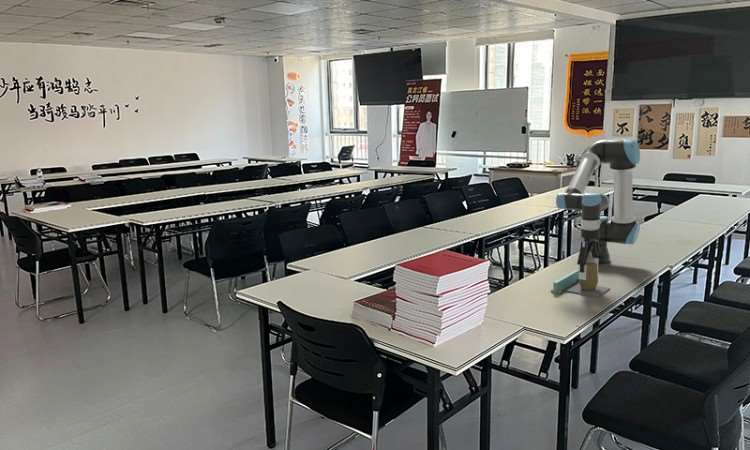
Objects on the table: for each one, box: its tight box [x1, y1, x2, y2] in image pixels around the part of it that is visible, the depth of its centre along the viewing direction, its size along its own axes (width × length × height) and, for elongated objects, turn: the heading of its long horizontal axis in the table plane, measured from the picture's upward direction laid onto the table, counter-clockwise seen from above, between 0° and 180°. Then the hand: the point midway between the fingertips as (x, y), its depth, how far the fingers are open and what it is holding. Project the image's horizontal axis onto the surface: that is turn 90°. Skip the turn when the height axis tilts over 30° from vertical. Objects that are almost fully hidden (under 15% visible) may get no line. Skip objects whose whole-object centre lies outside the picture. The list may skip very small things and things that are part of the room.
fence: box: [550, 269, 579, 295], centre depth 253 cm, size 4×24×5 cm, turn 138°
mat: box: [565, 282, 611, 299], centre depth 247 cm, size 14×14×1 cm
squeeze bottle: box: [578, 252, 599, 291], centre depth 245 cm, size 8×8×18 cm
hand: (588, 275), depth 246 cm, fingers open, 13 cm apart
